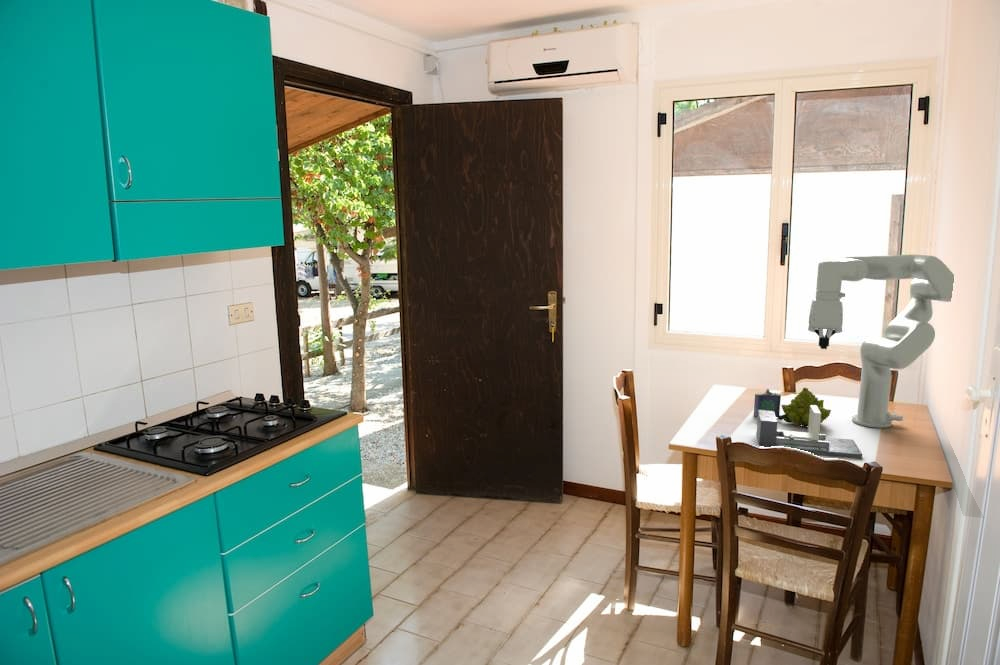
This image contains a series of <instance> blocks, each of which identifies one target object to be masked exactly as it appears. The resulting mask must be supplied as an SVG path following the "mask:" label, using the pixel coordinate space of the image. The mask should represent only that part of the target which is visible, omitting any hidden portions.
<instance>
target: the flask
mask: <svg viewBox="0 0 1000 665" xmlns="http://www.w3.org/2000/svg"><path fill="white" fill-rule="evenodd" d="M781 397H782V395H781V394H779V393H776V392H771V391H770V389H769V388H767V389H765V392H764V393H763V392H762V393H758V392H757V393H755V394H754V402H753V403H754V405H753V417H754V418H757V417H758V410H767V411H774V412H775V416H776V417H778V416H779V415H780V412H781V408H780V407H781Z"/></svg>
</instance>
